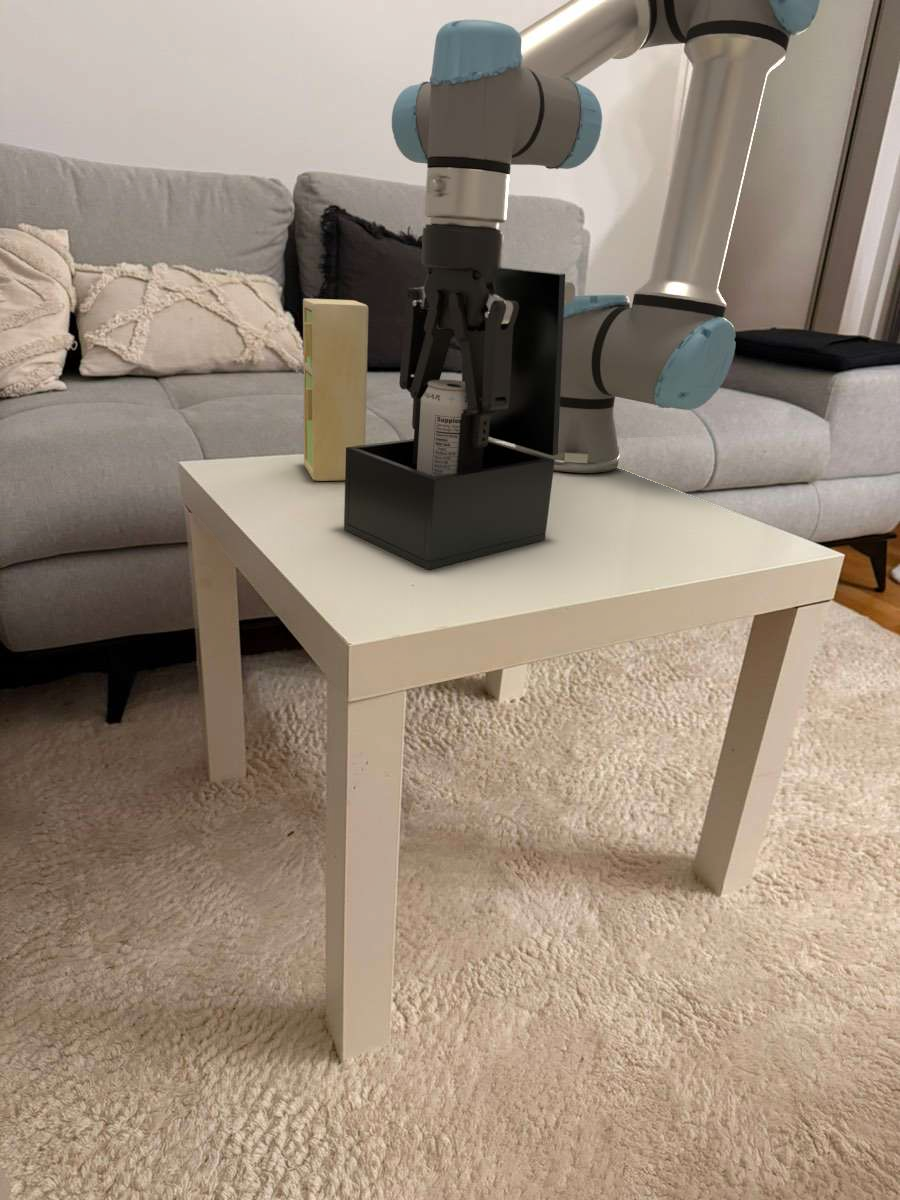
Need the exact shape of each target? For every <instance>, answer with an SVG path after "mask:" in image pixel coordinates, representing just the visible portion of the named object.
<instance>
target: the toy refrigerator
mask: <svg viewBox="0 0 900 1200" xmlns="http://www.w3.org/2000/svg"><path fill="white" fill-rule="evenodd" d="M302 338H303V341H302V348H303V350H302V351H303V352H302V353H303V354H302V355H303V356H302V357H303V359H302V361H303V363H302V365H303V368H302V369H303V466H304V468H305V469H306V471H307V472H308V474H309V475H310V477H311V479H312V480H313V481H315V482H316V481H317V482H318V481H319V482H320V481H321V482H323V481H324V482H325V481H326V482H327V481H329V482H330V481H345V465H346V447H353V446H361V445H366V438H367V437H366V434H367V433H366V431H367V430H366V429H367V394H368V393H367V391H368V390H367V389H368V387H367V385H368V350H369V349H368V347H369V346H368V343H369V306H368V305H367V304H365V303H363V302H360V301H357V300H353V299H352V300H351V299H327V298H303V300H302Z"/></svg>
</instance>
